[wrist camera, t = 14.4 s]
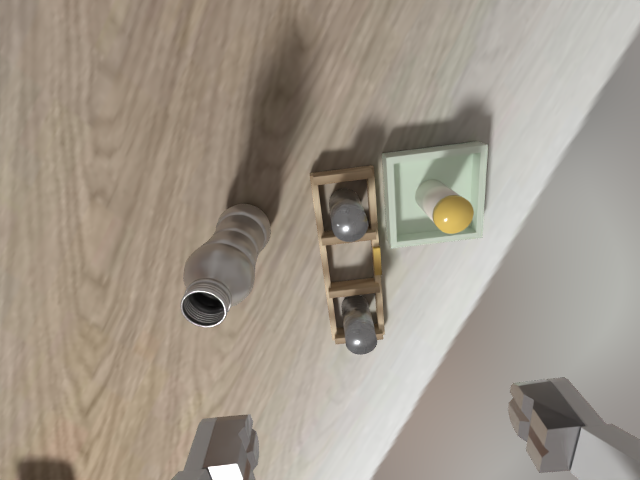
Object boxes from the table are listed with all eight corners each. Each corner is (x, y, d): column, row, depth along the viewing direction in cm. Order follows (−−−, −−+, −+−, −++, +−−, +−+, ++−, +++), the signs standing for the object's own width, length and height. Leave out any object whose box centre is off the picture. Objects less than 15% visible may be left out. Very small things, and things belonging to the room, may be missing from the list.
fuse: (414, 181, 44) (434, 199, 37) (447, 177, 44) (474, 194, 37) (414, 212, 46) (434, 235, 38) (446, 208, 46) (472, 231, 38)
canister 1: (327, 190, 45) (329, 210, 38) (358, 186, 45) (366, 205, 38) (330, 219, 47) (333, 244, 39) (360, 215, 47) (369, 239, 39)
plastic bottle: (261, 252, 49) (228, 352, 30) (214, 232, 47) (151, 323, 29) (281, 213, 46) (258, 295, 28) (232, 190, 45) (175, 260, 27)
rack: (310, 173, 44) (309, 177, 42) (372, 165, 44) (375, 169, 42) (332, 333, 54) (332, 344, 52) (383, 328, 54) (386, 338, 52)
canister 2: (340, 296, 52) (344, 330, 44) (367, 293, 51) (376, 327, 44) (342, 318, 53) (347, 355, 46) (369, 315, 53) (378, 352, 46)
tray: (381, 153, 43) (386, 157, 41) (476, 141, 43) (488, 144, 40) (386, 239, 48) (391, 248, 45) (472, 229, 48) (482, 237, 45)
